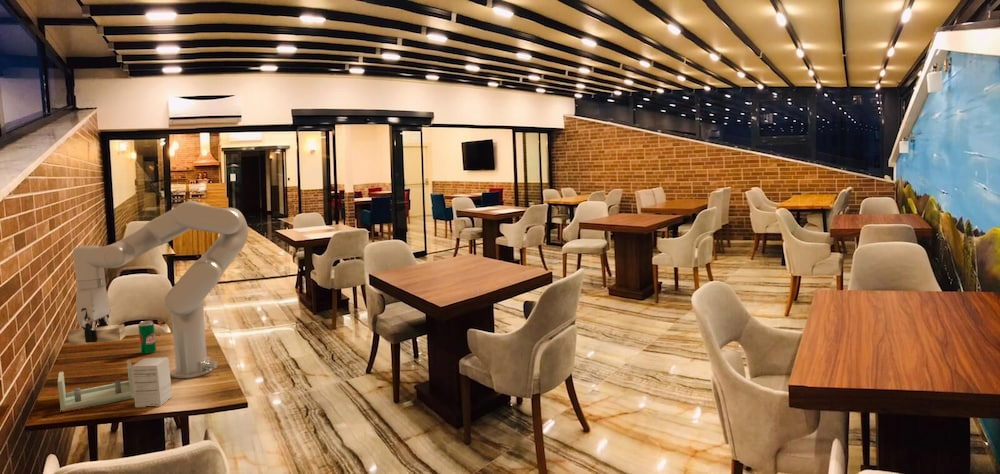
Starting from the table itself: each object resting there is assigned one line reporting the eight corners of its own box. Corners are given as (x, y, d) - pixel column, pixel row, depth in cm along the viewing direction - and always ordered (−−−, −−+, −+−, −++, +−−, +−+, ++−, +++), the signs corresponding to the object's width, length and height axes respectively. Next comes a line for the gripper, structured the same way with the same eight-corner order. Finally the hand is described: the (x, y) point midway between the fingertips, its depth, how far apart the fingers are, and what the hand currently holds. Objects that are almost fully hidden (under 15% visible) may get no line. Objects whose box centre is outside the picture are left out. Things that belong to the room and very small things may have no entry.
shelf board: (125, 335, 186) (124, 324, 186) (120, 340, 181) (119, 328, 181) (75, 341, 182) (74, 329, 182) (69, 345, 177) (67, 333, 177)
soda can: (149, 354, 213) (146, 323, 211) (137, 354, 214) (134, 323, 212) (159, 350, 218) (156, 320, 216) (148, 350, 219) (145, 320, 217)
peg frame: (132, 385, 181) (130, 358, 180) (135, 397, 171) (132, 369, 170) (62, 399, 170) (59, 371, 169) (60, 413, 161) (57, 382, 160)
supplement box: (147, 398, 171) (143, 357, 169) (173, 396, 172) (169, 356, 170) (134, 408, 164) (130, 366, 162) (160, 406, 164) (156, 365, 163)
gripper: (95, 279, 188) (101, 332, 190) (60, 290, 171) (67, 348, 173) (118, 278, 188) (124, 331, 191) (87, 289, 171) (94, 346, 174)
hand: (97, 338), depth 182 cm, fingers closed on shelf board, 5 cm apart
